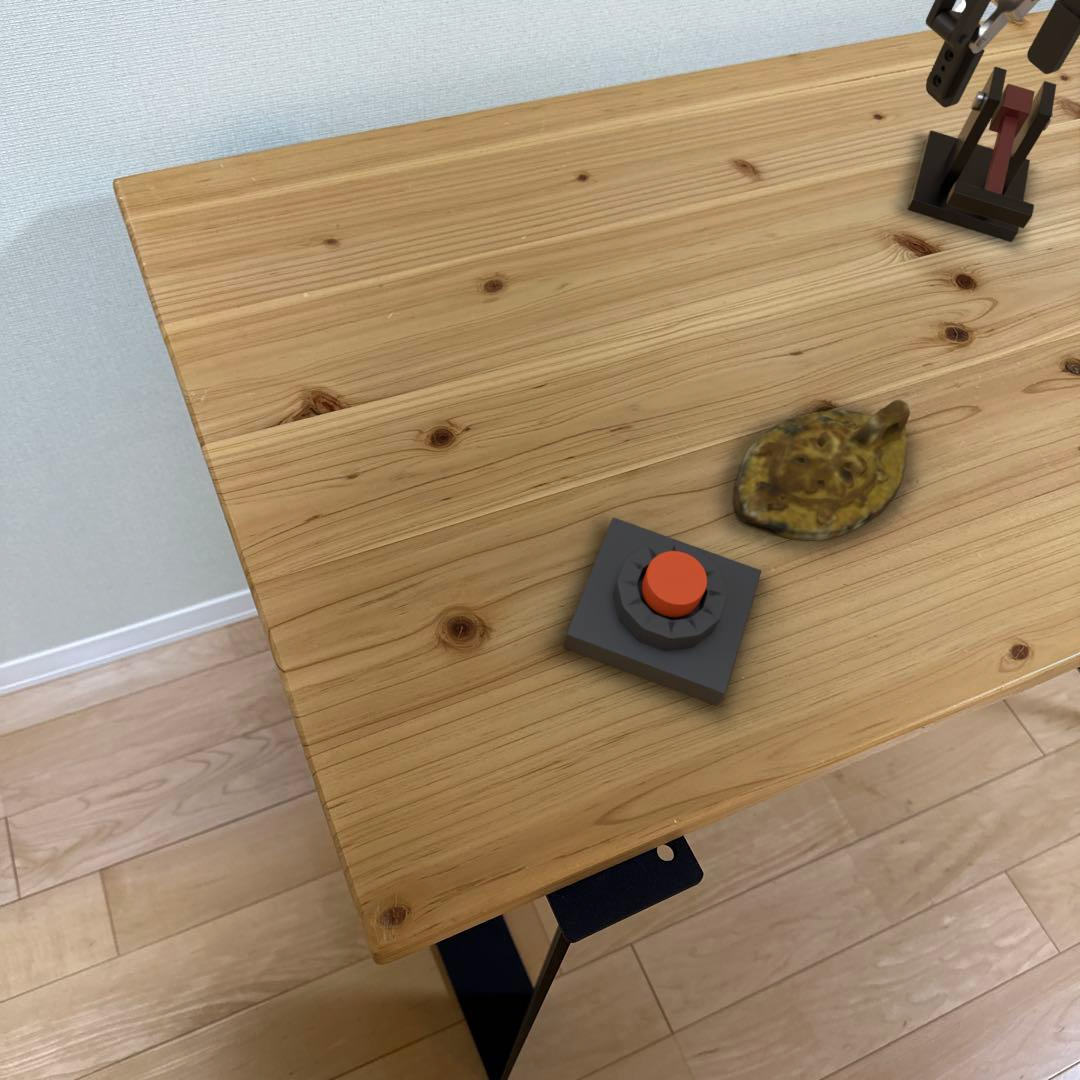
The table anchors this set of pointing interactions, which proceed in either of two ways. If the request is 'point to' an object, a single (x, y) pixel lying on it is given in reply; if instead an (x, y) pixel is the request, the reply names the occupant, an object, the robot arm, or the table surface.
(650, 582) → the button
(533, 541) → the table surface
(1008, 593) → the table surface
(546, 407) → the table surface
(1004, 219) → the dark red t-shaped bar
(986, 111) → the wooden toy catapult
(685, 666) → the button box
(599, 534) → the table surface
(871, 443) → the olive oval piece
